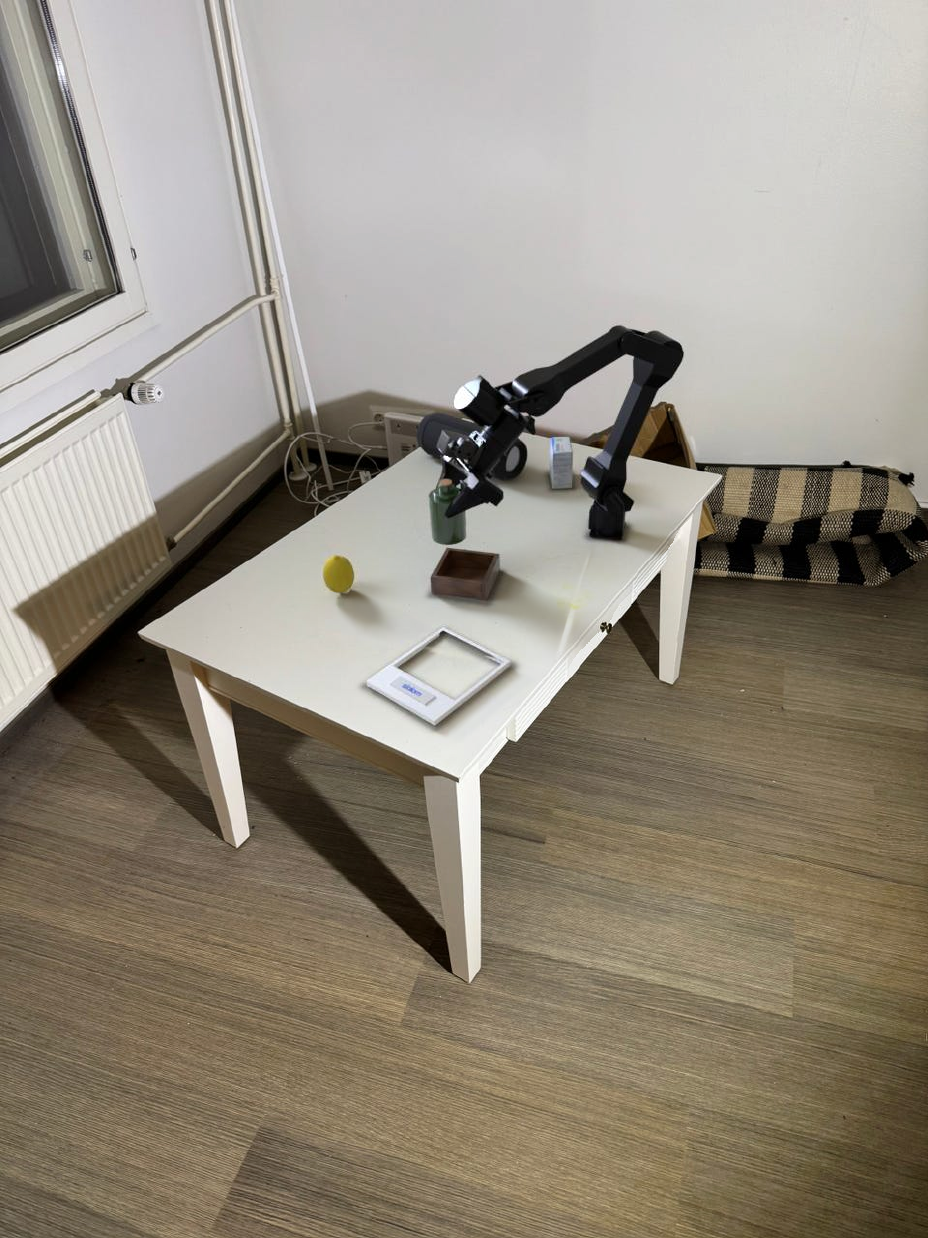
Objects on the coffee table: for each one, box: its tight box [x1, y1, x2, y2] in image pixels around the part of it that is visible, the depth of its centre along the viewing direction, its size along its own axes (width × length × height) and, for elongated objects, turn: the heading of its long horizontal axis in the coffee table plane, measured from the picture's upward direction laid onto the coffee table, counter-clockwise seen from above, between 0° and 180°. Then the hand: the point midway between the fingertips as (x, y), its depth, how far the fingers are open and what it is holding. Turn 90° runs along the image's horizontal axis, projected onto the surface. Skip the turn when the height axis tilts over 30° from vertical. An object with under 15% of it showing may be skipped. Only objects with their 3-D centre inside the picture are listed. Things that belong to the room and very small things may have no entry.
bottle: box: [428, 479, 468, 546], centre depth 157 cm, size 6×6×11 cm
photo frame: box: [366, 626, 511, 726], centre depth 139 cm, size 15×1×18 cm
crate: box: [430, 547, 501, 601], centre depth 159 cm, size 10×10×4 cm
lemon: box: [322, 555, 355, 594], centre depth 157 cm, size 6×6×8 cm
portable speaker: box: [416, 412, 528, 481], centre depth 196 cm, size 26×10×10 cm, turn 50°
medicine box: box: [549, 436, 574, 490], centre depth 189 cm, size 8×4×9 cm, turn 179°
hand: (440, 508), depth 156 cm, fingers closed on bottle, 6 cm apart
